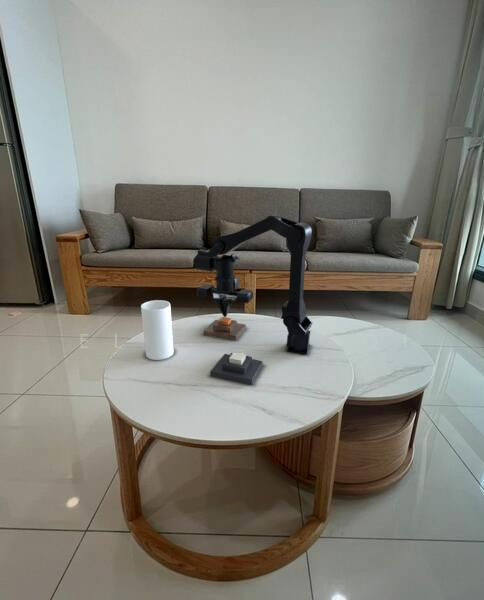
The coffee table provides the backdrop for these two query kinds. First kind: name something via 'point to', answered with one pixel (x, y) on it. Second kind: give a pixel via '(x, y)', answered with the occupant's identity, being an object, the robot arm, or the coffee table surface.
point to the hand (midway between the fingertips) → (225, 316)
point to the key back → (225, 321)
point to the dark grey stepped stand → (237, 370)
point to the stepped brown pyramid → (225, 330)
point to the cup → (157, 329)
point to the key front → (237, 358)
